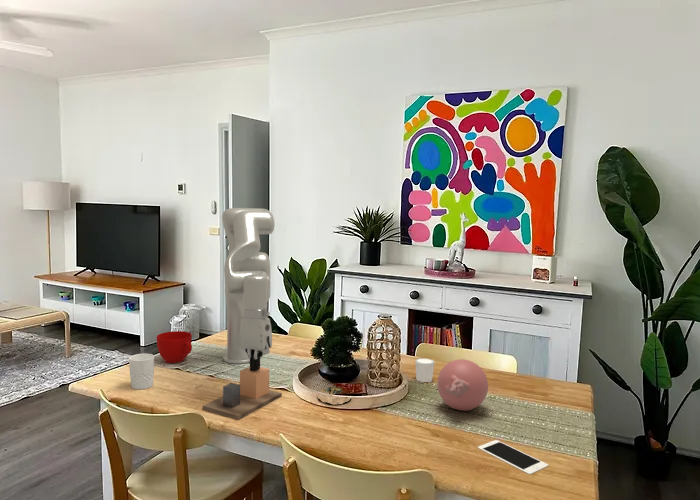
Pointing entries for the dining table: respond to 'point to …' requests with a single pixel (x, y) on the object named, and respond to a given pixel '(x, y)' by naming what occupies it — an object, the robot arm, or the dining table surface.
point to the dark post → (231, 395)
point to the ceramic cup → (174, 345)
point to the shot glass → (424, 369)
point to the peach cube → (254, 382)
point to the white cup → (141, 370)
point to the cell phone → (513, 457)
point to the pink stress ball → (462, 384)
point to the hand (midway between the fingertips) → (254, 369)
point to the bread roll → (332, 390)
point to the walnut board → (241, 405)
